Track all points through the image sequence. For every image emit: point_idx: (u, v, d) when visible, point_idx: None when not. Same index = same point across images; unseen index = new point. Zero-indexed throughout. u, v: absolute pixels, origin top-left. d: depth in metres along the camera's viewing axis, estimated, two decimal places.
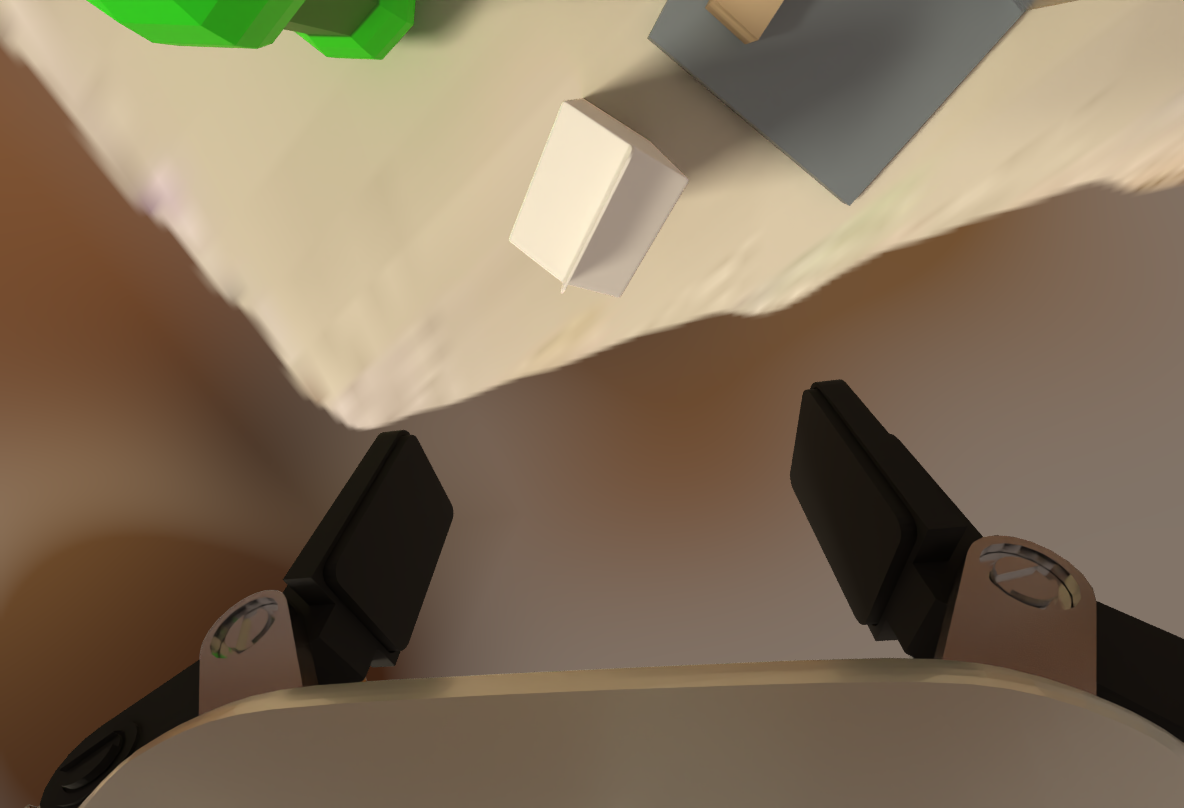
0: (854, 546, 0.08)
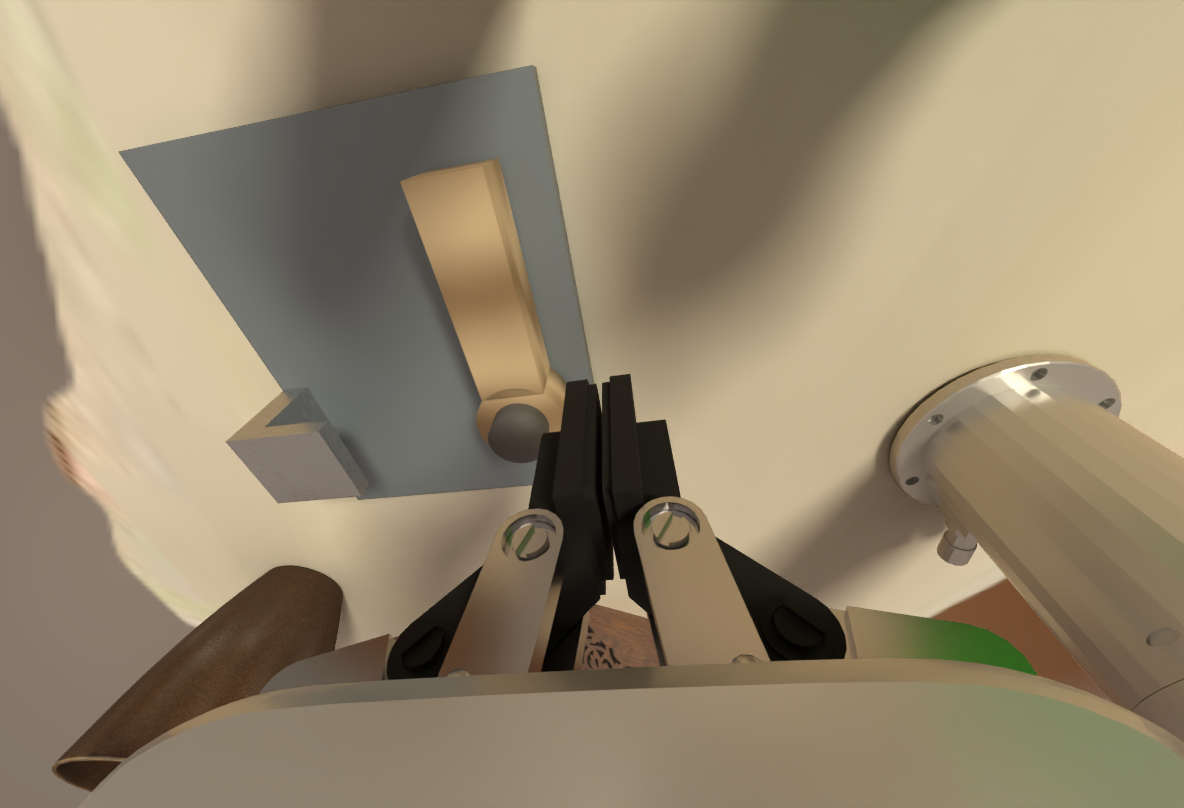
0: None
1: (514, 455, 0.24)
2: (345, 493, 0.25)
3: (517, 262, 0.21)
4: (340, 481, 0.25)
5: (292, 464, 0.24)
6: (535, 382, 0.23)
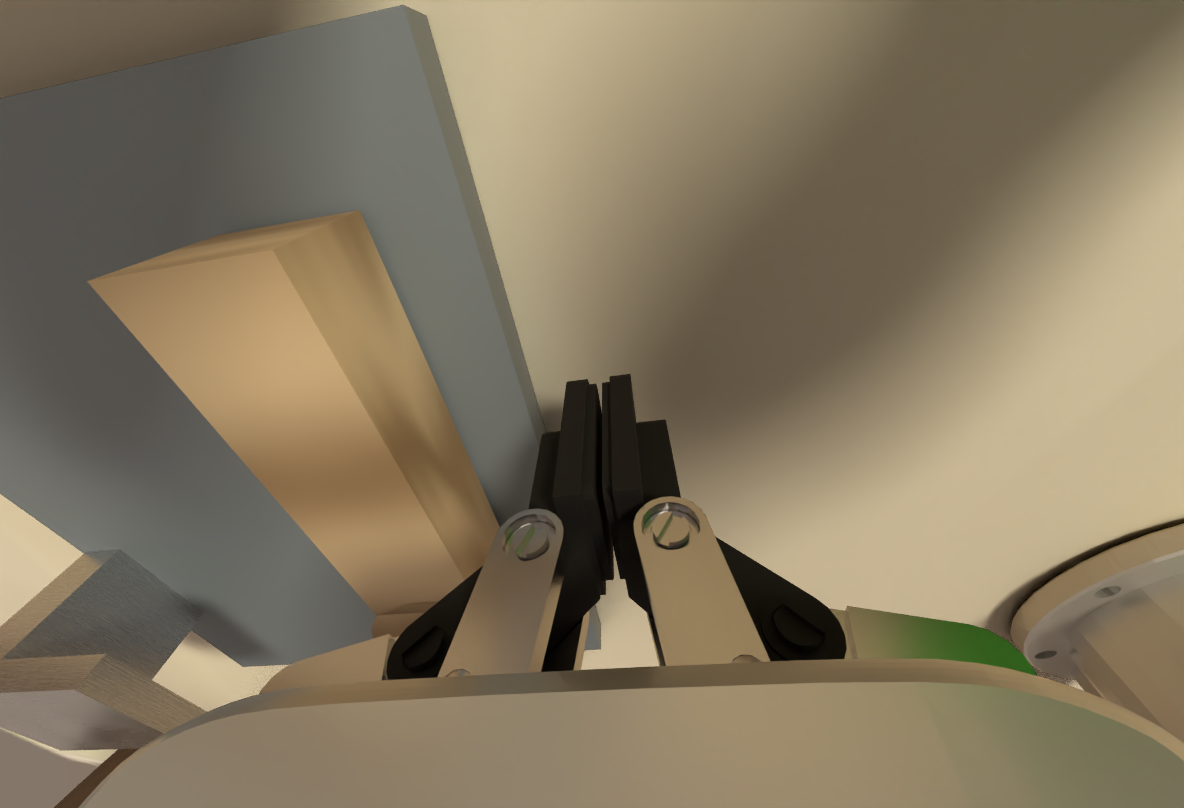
0: None
1: None
2: None
3: (415, 405, 0.11)
4: (147, 734, 0.15)
5: (55, 718, 0.14)
6: None
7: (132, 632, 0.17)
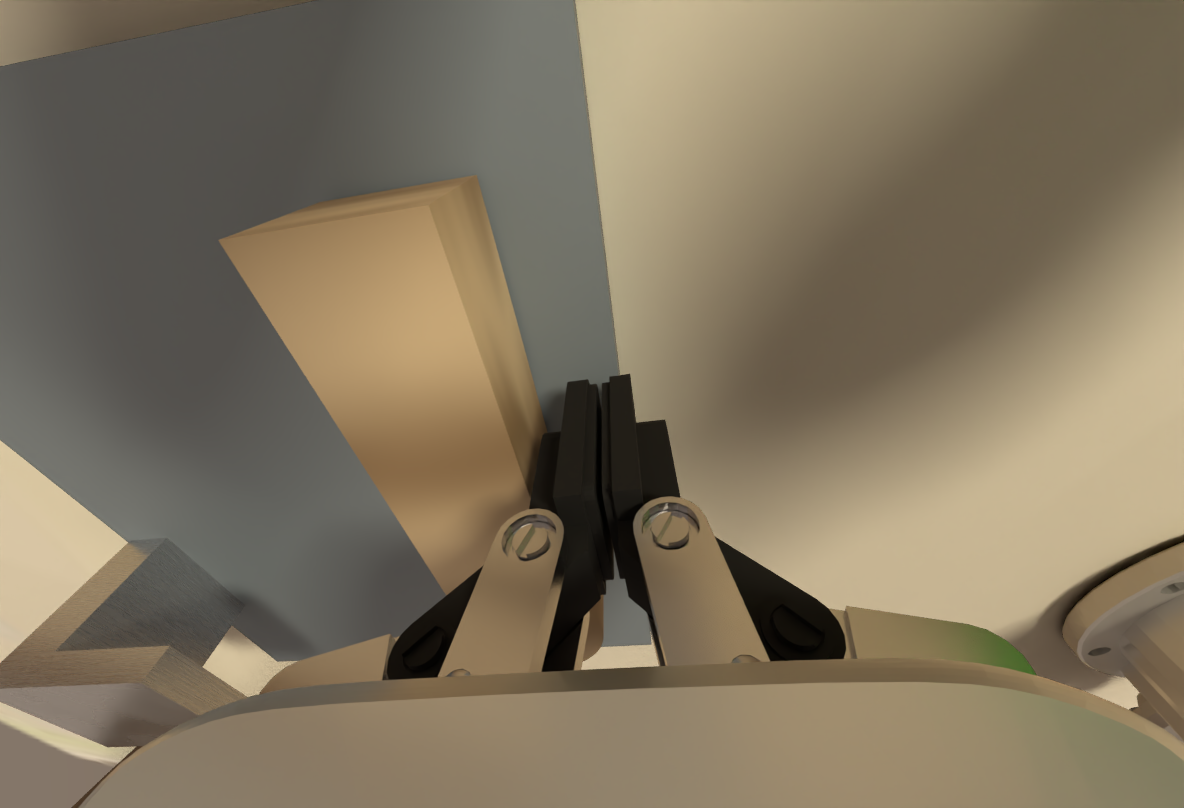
0: None
1: None
2: None
3: (518, 385, 0.10)
4: None
5: (111, 713, 0.13)
6: None
7: (179, 624, 0.17)
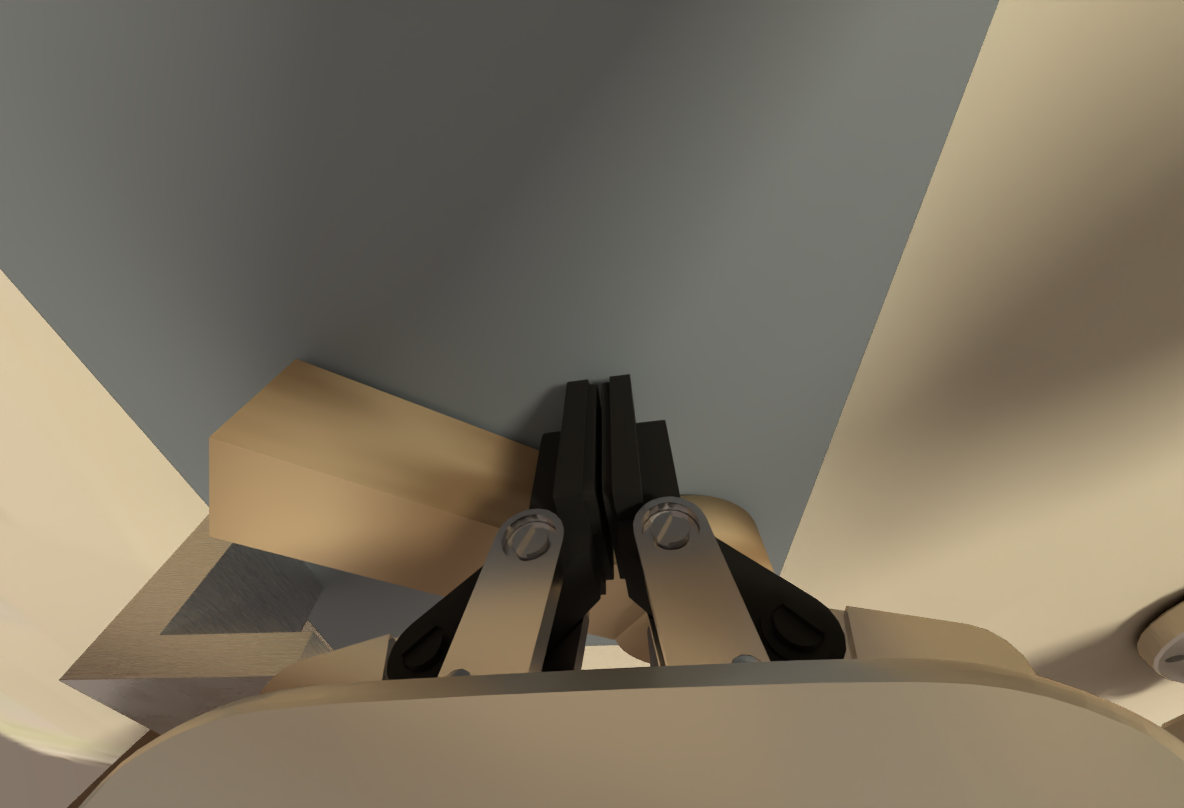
0: None
1: None
2: None
3: (449, 456, 0.11)
4: None
5: None
6: None
7: (269, 607, 0.14)
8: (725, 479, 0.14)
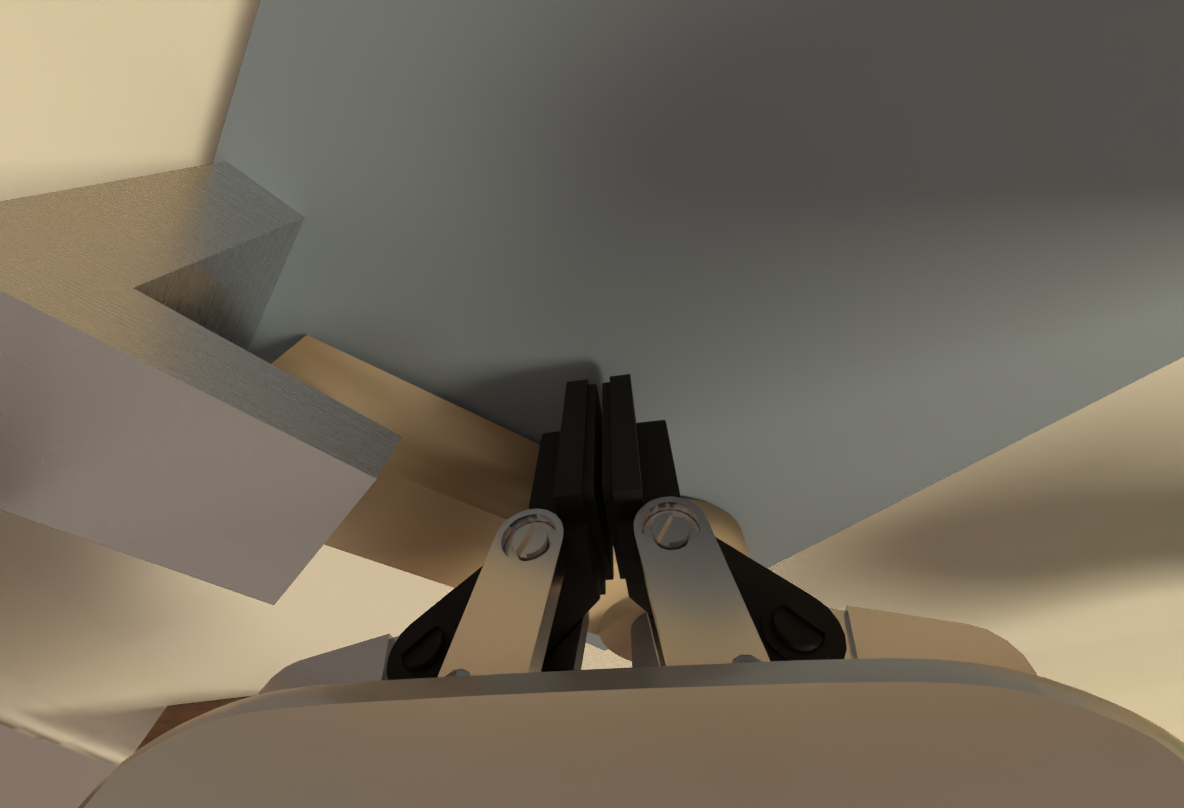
0: None
1: None
2: (233, 582, 0.08)
3: (453, 442, 0.11)
4: (257, 564, 0.08)
5: (143, 462, 0.06)
6: None
7: None
8: (756, 515, 0.15)
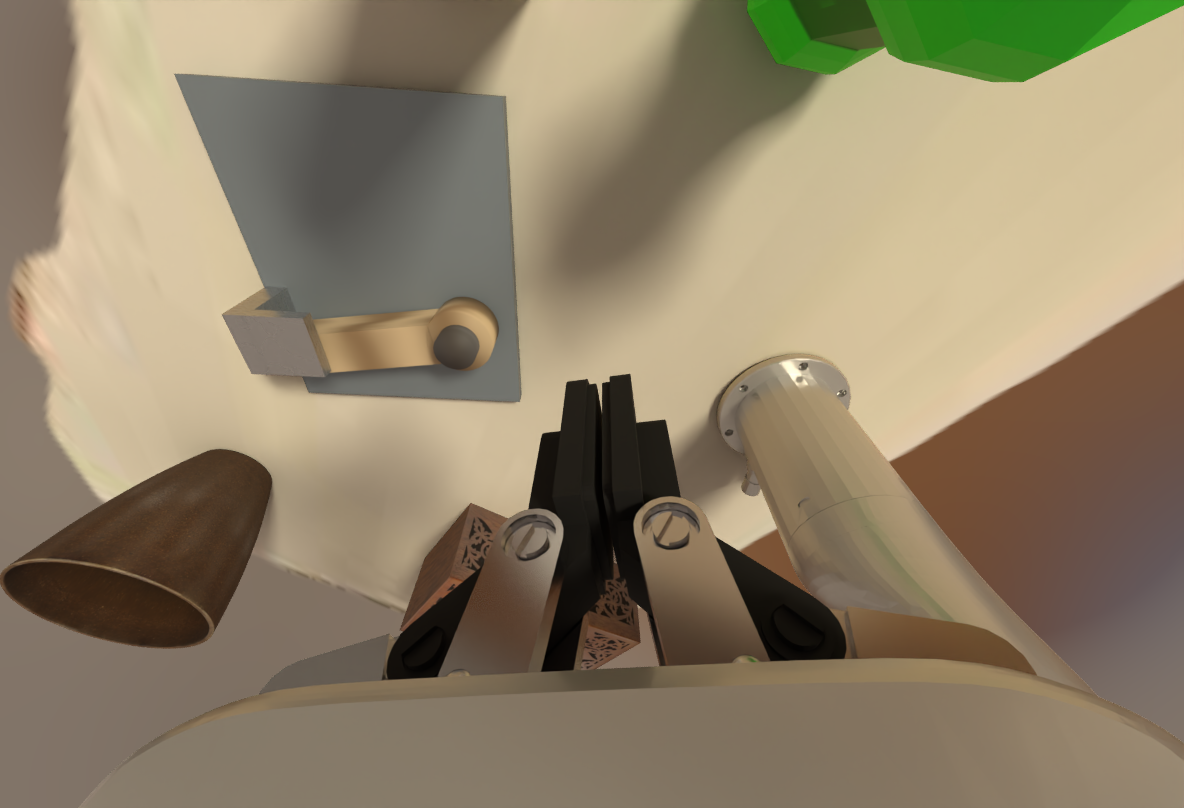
0: None
1: (468, 355, 0.33)
2: (312, 372, 0.33)
3: (353, 322, 0.34)
4: (310, 362, 0.32)
5: (273, 342, 0.31)
6: (418, 329, 0.33)
7: None
8: (478, 291, 0.34)
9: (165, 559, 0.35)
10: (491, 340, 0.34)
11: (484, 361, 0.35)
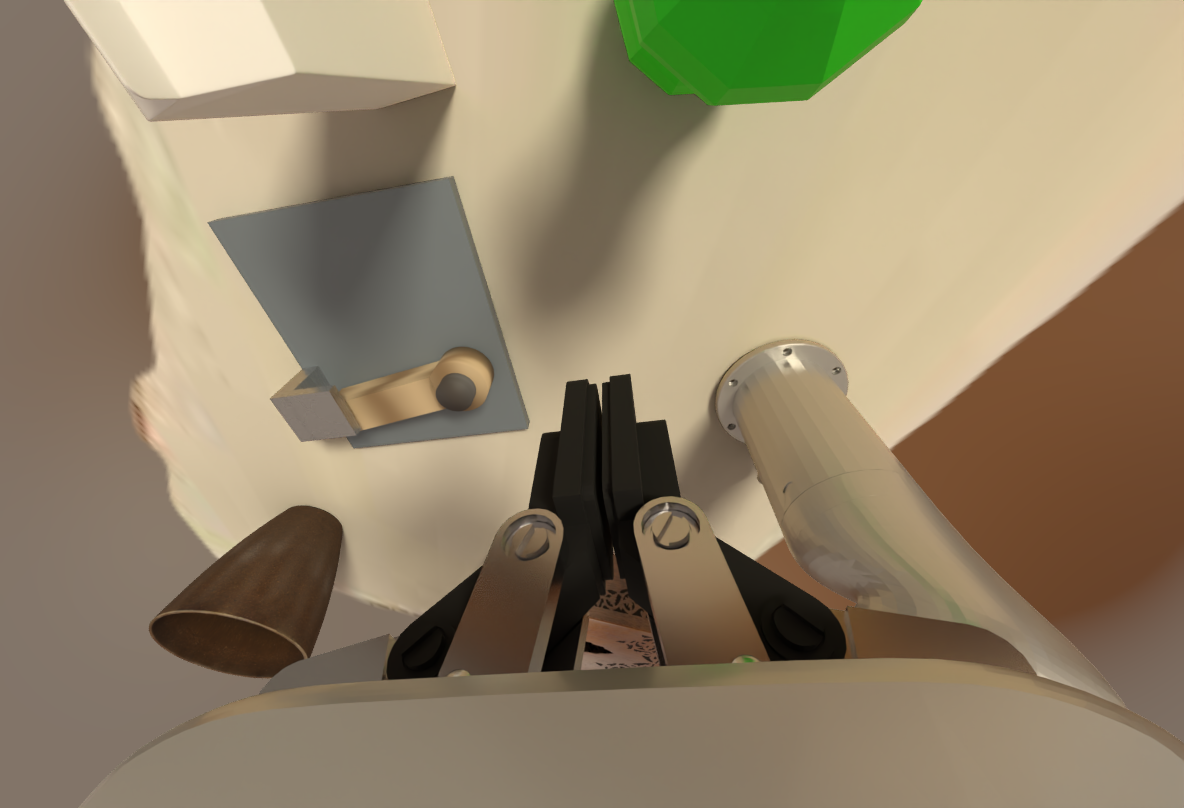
0: None
1: (466, 398, 0.37)
2: (345, 433, 0.39)
3: (372, 385, 0.40)
4: (342, 425, 0.39)
5: (311, 413, 0.38)
6: (422, 382, 0.38)
7: None
8: (468, 340, 0.39)
9: (261, 603, 0.42)
10: (484, 381, 0.38)
11: (483, 399, 0.39)
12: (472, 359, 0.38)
